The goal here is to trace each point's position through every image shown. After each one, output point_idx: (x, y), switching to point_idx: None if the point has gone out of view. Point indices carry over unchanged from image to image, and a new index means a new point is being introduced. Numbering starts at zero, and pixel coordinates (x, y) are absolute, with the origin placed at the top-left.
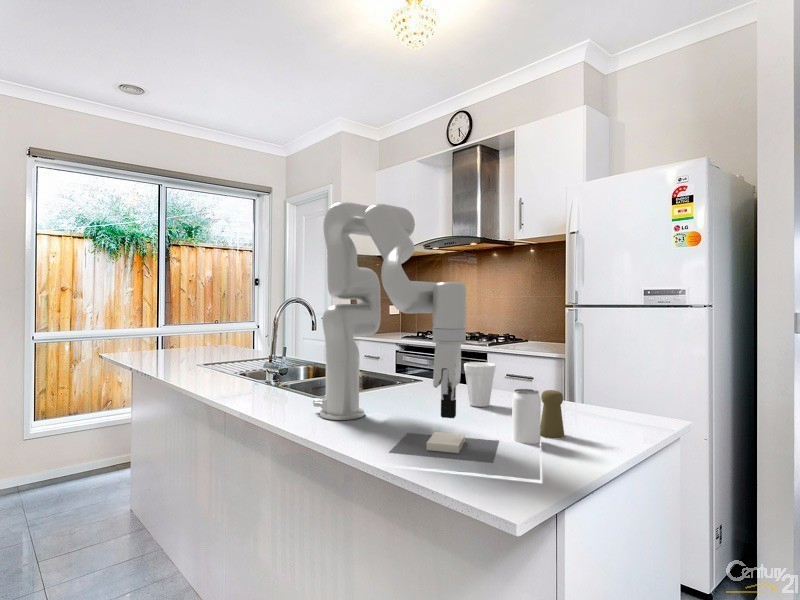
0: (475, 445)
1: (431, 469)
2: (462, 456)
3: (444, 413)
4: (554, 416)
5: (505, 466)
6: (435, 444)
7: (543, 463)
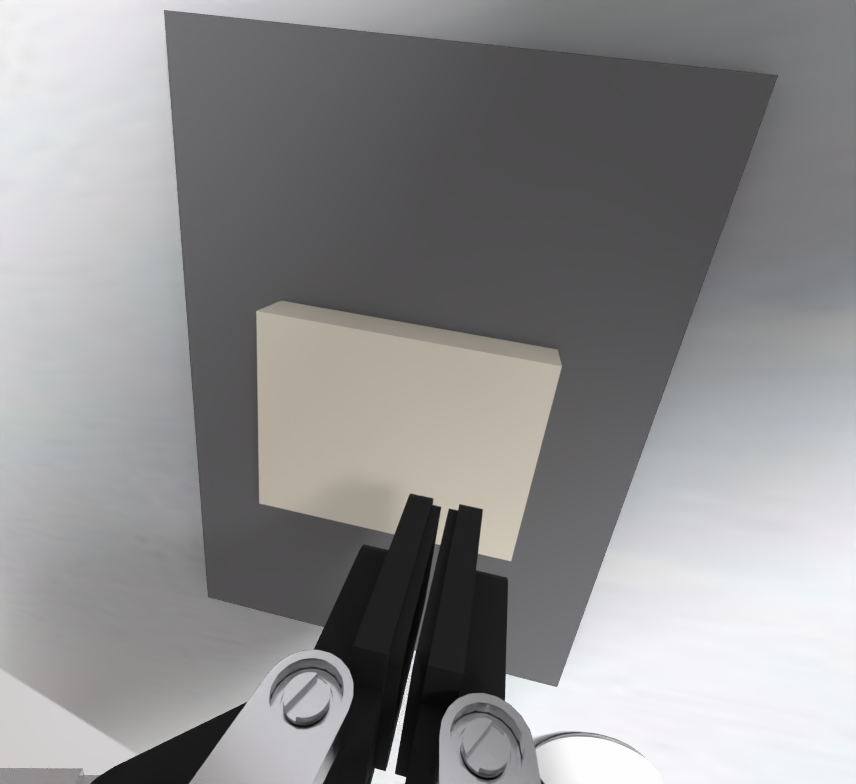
0: None
1: (69, 334)
2: (245, 490)
3: (360, 548)
4: None
5: (227, 625)
6: (260, 369)
7: None
